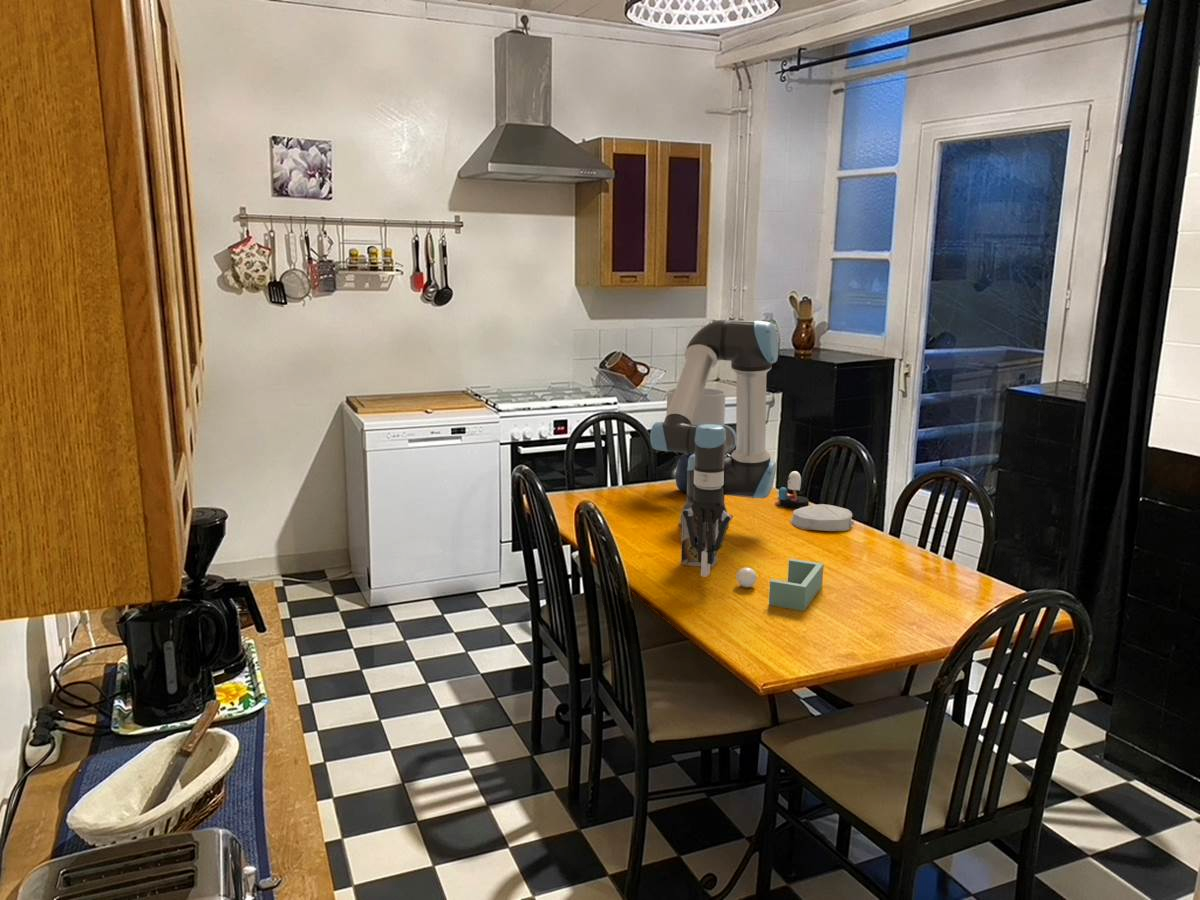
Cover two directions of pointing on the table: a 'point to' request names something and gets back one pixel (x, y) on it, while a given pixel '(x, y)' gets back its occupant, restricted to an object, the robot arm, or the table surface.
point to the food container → (823, 518)
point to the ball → (746, 577)
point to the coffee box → (688, 552)
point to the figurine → (793, 500)
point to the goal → (797, 585)
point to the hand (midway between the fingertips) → (705, 574)
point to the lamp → (707, 413)
